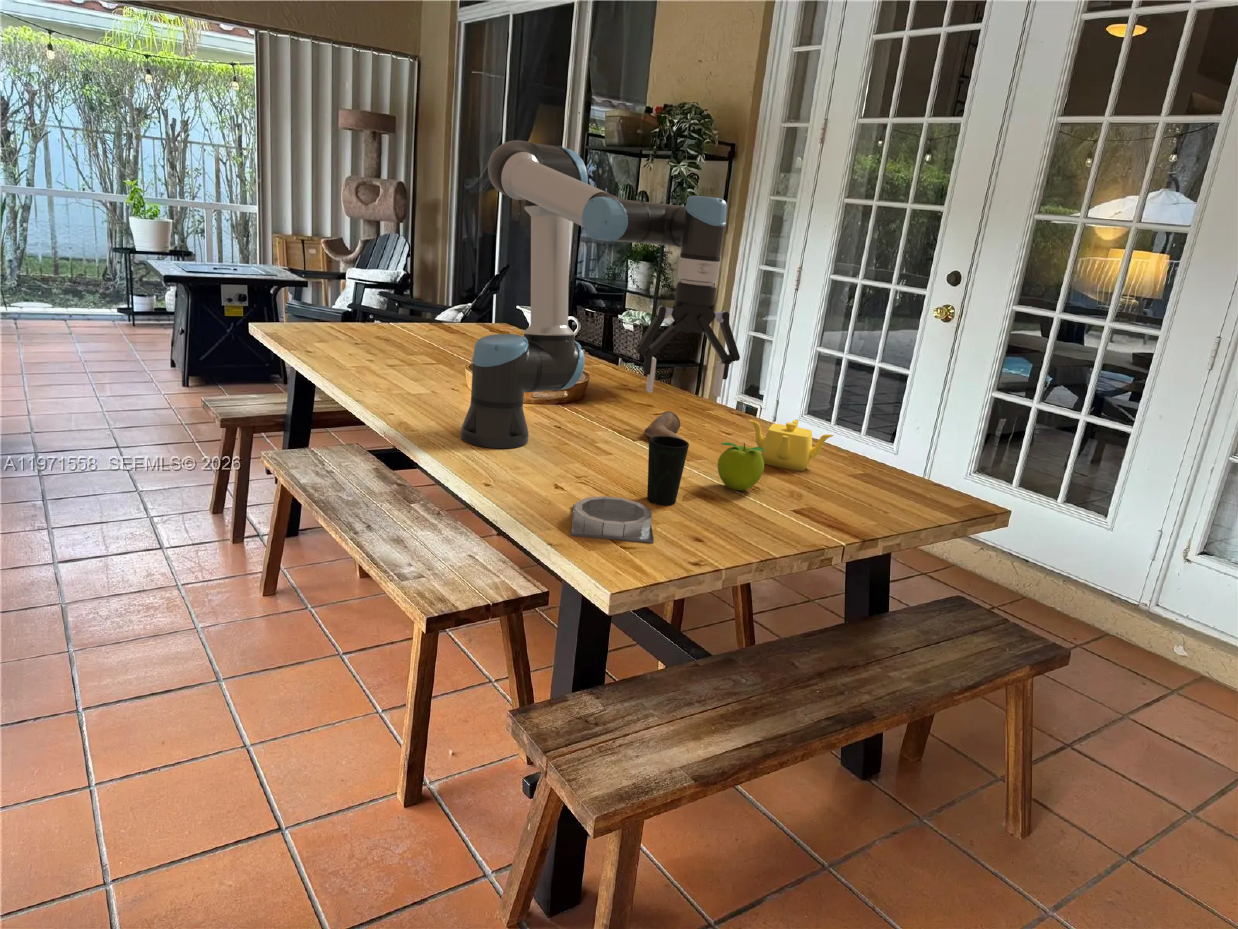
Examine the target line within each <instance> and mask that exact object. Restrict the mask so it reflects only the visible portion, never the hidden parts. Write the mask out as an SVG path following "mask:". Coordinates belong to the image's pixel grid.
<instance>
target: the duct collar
mask: <svg viewBox="0 0 1238 929" xmlns="http://www.w3.org/2000/svg"><path fill="white" fill-rule="evenodd" d="M572 505H573V506H572V519H571V530H570V535H571V536H572V537H583V538H584V537H585V538H594V539H605V540H616V541H628V542H637V543H638V542H639V543H646V544H647V543H648V544H649V543H650V544H654V543H655V542H654V541H655V540H654V534H653V533H654V532H653V528H652V512H651V509H650V508H648V507H646V506H645V505H644V504H642V503H641V502H638V501H634V500H630V499H628V498H623V497H615V496H605V495H604V496H603V495H600V496H591V497H585V498H582V499H580V500H578V501H576V502H575V503H573V504H572Z"/></svg>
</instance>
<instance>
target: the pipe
mask: <svg viewBox="0 0 1238 929" xmlns="http://www.w3.org/2000/svg"><path fill="white" fill-rule="evenodd" d="M680 428H681V420H680V417H679V416H678V415H677V414H676V413H675V412H673V411H671V410H669V411H668V410H667V411H664V412H662V413H661V415H659V416H658V417H657V418H655V419H654V420H653V421H652V422H651V423H650V424H649V425H648V426H647V427H646V428H645V429H644V430H643V433H644V435H645V436H647V437H649V439H650V438H651V437H654V436H669V437H676V438H680V439H683V440H685V439H684V438H683V437H681V436H680V435H678V434H677V433H679V432H678V431H679V430H680Z"/></svg>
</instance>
